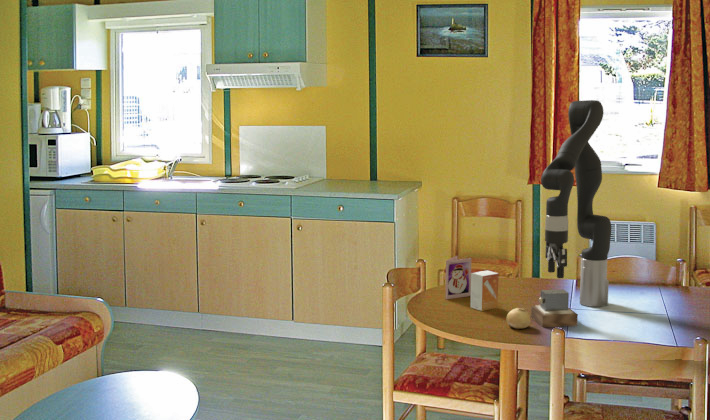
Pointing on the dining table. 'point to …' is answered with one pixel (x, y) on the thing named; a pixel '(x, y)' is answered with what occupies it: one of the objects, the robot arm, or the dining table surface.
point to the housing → (554, 300)
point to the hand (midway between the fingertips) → (555, 275)
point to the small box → (484, 290)
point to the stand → (553, 317)
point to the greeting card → (458, 277)
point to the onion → (518, 318)
